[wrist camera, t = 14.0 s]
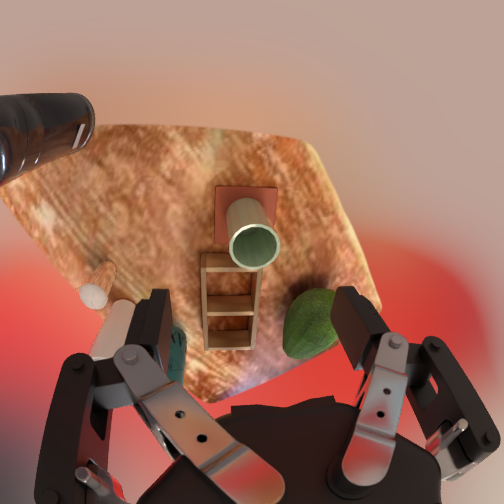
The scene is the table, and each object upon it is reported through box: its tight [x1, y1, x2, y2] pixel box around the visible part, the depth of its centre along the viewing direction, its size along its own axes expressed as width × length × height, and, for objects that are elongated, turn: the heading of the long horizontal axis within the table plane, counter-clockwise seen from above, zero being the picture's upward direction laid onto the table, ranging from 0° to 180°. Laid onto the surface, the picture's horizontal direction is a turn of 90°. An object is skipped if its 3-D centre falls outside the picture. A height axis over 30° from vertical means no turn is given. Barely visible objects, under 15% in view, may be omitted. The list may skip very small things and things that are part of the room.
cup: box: [226, 198, 280, 269], centre depth 39 cm, size 6×6×10 cm
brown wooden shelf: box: [201, 253, 263, 351], centre depth 48 cm, size 9×17×4 cm, turn 176°
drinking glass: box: [89, 299, 136, 361], centre depth 42 cm, size 7×7×15 cm
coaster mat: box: [215, 186, 278, 244], centre depth 43 cm, size 9×9×1 cm
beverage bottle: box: [167, 325, 187, 386], centre depth 44 cm, size 6×7×20 cm
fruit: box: [283, 288, 338, 359], centre depth 49 cm, size 15×10×10 cm, turn 155°
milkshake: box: [75, 260, 117, 310], centre depth 40 cm, size 4×5×10 cm
